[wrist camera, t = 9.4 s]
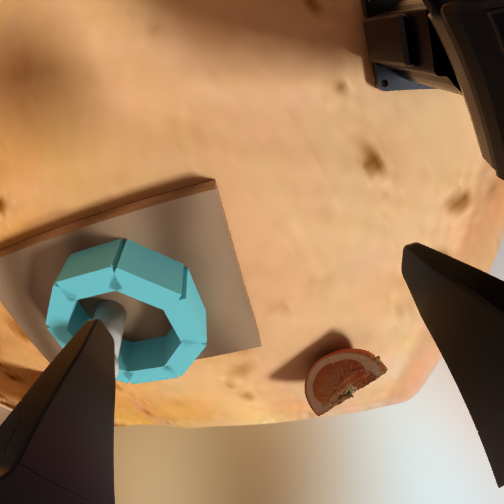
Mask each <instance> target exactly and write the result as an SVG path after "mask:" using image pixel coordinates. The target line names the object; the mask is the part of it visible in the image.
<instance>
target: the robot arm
mask: <svg viewBox="0 0 504 504" xmlns="http://www.w3.org/2000/svg"><path fill="white" fill-rule="evenodd" d="M361 2H362V7H363V12H364V17H365V20H364V22H363V25H364V30H365V36H366V42H367V48H368V55H369V59H370V61H372V65H373V73H374V81H375V85H376V87H377V88H378V89H379V90H383V91H393V90H411V89H442V90H446V91H449V92H453V93H456V94H460V95H463V96H464V99H465V102H466V105H467V108H468V111H469V114H470V117H471V120H472V123H473V127H474V130H475V133H476V137H477V140H478V144H479V147H480V150H481V153H482V156H483V158H484V159H485V160H486V161H487V162H488V163H489V164H490V165H491V167H492V168H494V169H495V170H496V175H497V176H498V177H499V178H501V179H502V180H504V0H372V2H369V1H368V0H361ZM382 80H385V85H384V86H382V84H381V81H382ZM401 269H402V274H403V277H404V279H405V281H406V284H407V286H408V288H409V290H410V292H411V295H412V297H413V299H414V301H415V304H416V306H417V308H418V311H419V313H420V315H421V317H422V319H423V321H424V323H425V324H426V326H427V328H428V330H429V332H430V334H431V335H432V337H433V339H434V341H435V343H436V345H437V347H438V348H439V350H440V352H441V354H442V356H443V358H444V360H445V362H446V364H447V366H448V368H449V370H450V372H451V374H452V376H453V378H454V380H455V382H456V384H457V386H458V388H459V390H460V393H461V395H462V397H463V399H464V401H465V404H466V406H467V408H468V410H469V413H470V415H471V417H472V419H473V422H474V424H475V426H476V429H477V431H478V434H479V436H480V439H481V442H482V444H483V446H484V449H485V452H486V454H487V457H488V460H489V462H490V465H491V468H492V471H493V473H494V476H495V479H496V482H497V485H498V487H499V488H500V487H502V486H504V281H502V280H500V279H498V278H496V277H494V276H491V275H490V274H487V273H485V272H483V271H481V270H479V269H477V268H475V267H472V266H470V265H468V264H466V263H464V262H461V261H459V260H457V259H455V258H452V257H450V256H448V255H446V254H443V253H441V252H439V251H436V250H434V249H432V248H429V247H427V246H425V245H422V244H420V243H417V242H415V243H411V244H408V245H406V246H404V248H403V257H402V267H401ZM115 388H116V386H115V343H114V339H113V337H112V335H111V333H110V332H109V331H108V329H107V328H106V326H105V325H104V323H103V322H102V321H101V320H100V319H92V320H88V321H87V322H86V323H85V324H84V325H83V326H82V327H81V328H80V329H79V330H78V332H77V333H76V334H75V335H74V336H73V337H72V338H71V340H70V341H69V342H68V343H67V344H66V345H65V347H64V348H63V349H62V350H61V351H60V352H59V354H58V355H57V356H56V357H55V358H54V359H53V361H52V362H51V363H50V364H49V365H48V367H47V368H46V369H45V370H44V372H43V373H42V374H41V375H40V376H39V378H38V379H37V380H36V381H35V383H34V384H33V385H32V386H31V388H30V389H29V390H28V391H27V393H26V394H25V395H24V396H23V398H22V399H21V401H19V403H18V404H17V405H16V407H15V408H14V409H13V411H12V412H11V413H10V414H9V416H8V417H7V418H6V420H5V421H4V422H3V423H2V424H1V426H0V504H115V496H114V459H113V458H114V457H113V454H114V452H113V451H114V450H113V449H114V409H115Z"/></svg>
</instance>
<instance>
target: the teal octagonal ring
mask: <svg viewBox="0 0 504 504" xmlns="http://www.w3.org/2000/svg"><path fill="white" fill-rule="evenodd" d="M112 291H118V292H120V293H123V294H125V295H128V296H130V297H132V298H135V299H137V300H140V301H142V302H145V303H147V304H150V305H152V306H155V307H157V308H160V309H162V310H164V312H165V314H166V316H167V317H168V319H169V321H170V323H171V325H172V326H173V327H172V328H171V330H170V331H169V333H168V334H167V336H163V337H158V338H153V339H147V340H142V341H136V342H130V341H128V340H125V339H122V340H121V345H120V350H119V355H118V363H119V372H118V375H117V377H116V380H119V381H122V382H125V383H128V382H129V381H130V382H131V383H132V384H136V383H144V382H151V381H158V380H165V379H171V378H178V377H179V375H181V376H182V375H183V374H184V373H185V371H186V370H187V369H188V368H189V367H190V365H191V364H192V363H193V362H194V360H195V359H196V358H197V357H198V355H199V354H200V353H201V352H202V351H203V349H204V348H205V347H206V342H207V330H206V310H205V307H204V305H203V303H202V300H201V298H200V296H199V293H198V291H197V289H196V286H195V284H194V281H193V279H192V277H191V274H190V272H189V269H188V268H184V264H183V263H180V262H178V261H176V260H174V259H171V258H169V257H167V256H164V255H162V254H160V253H158V252H155V251H153V250H151V249H149V248H146V247H144V246H142V245H140V244H138V243H135V242H133V241H131V240H129V239H127V241H126V243H125V244H124V242H123V240H122V238H121V239H118V240H115V241H111V242H108V243H105V244H101V245H98V246H95V247H92V248H88V249H85V250H82V251H79V252H76V253H72V254H71V255H70V257H68V258H67V260H66V262H65V264H64V266H63V267H62V269H61V271H60V273H59V275H58V277H57V279H56V281H55V283H54V284H53V288H52V293H51V298H50V303H49V308H48V313H47V318H46V325H48V326H47V329H48V330H49V332H50V333H51V334H52V335H53V337H54V338H55V339H56V340H57V342H58V343H59V344H60V345H61V347H62V348H64V347H65V345H66V344H67V343H68V342H69V341H70V340H71V338H72V337H73V336H74V335H75V334H76V333H77V332H78V330H79V329H80V328H81V327H82V326H83V325H84V324H85V323H86V322H87V321H88V320H91V319H90V318H89V316H88V315H87V313H86V312H85V310H84V309H83V307H82V306H81V304H80V303H79V301H78V300H79V299H83V298H87V297H91V296H95V295H99V294H104V293H108V292H112Z"/></svg>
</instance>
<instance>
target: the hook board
mask: <svg viewBox="0 0 504 504" xmlns="http://www.w3.org/2000/svg"><path fill="white" fill-rule="evenodd" d="M121 238H122V240H123V242H124V244H125V243H126V241H127V239H129V240H131V241H133V242H135V243H138V244H140V245H142V246H144V247H146V248H149V249H151V250H153V251H155V252H158V253H160V254H162V255H164V256H167V257H169V258H171V259H174V260H176V261H178V262H180V263H183V264H184V268H188V269H189V272H190V274H191V277H192V279H193V281H194V284H195V286H196V289H197V291H198V293H199V296H200V298H201V300H202V303H203V305H204V307H205V310H206V330H207V342H206V347H205V348H204V349H203V351H202V352H201V353H200V354H199V355H198V357H197V358H196V359H202V358H207V357H212V356H217V355H222V354H227V353H232V352H237V351H241V350H246V349H251V348H255V347H259V346H261V341H260V336H259V331H258V328H257V325H256V321H255V318H254V314H253V311H252V308H251V304H250V301H249V297H248V294H247V290H246V287H245V283H244V280H243V276H242V273H241V270H240V266H239V263H238V259H237V256H236V252H235V248H234V245H233V241H232V238H231V234H230V231H229V227H228V224H227V220H226V217H225V213H224V209H223V206H222V202H221V199H220V195H219V191H218V188H217V184H216V181H215V180H211V181H207V182H204V183H200V184H196V185H192V186H189V187H185V188H181V189H178V190H174V191H171V192H167V193H164V194H160V195H157V196H153V197H150V198H147V199H143V200H140V201H137V202H133V203H130V204H127V205H124V206H121V207H117V208H114V209H111V210H108V211H105V212H102V213H99V214H96V215H93V216H90V217H87V218H84V219H81V220H78V221H75V222H73V223H70V224H67V225H64V226H61V227H59V228H56V229H53V230H50V231H48V232H45V233H42V234H40V235H37V236H34V237H32V238H29V239H27V240H24V241H22V242H19V243H17V244H14V245H12V246H9V247H7V248H4V249H2V250H0V301H1V302H2V304H3V305H4V307H5V308H6V309H7V311H8V312H9V313H10V315H11V316H12V317H13V319H14V320H15V321H16V323H17V324H18V325H19V327H20V328H21V329H22V330H23V332H24V333H25V334H26V335H27V337H28V338H29V339H30V340H31V342H32V343H33V344H34V345H35V346H36V348H37V349H38V350H39V351H40V352H41V353H42V355H43V356H44V357H45V358H46V359H47V360H48V361H49V362H50V363H51V362H52V361H53V359H54V358H55V357H56V356H57V355H58V354H59V352H60V351H61V350H62V349H63V348H62V347H61V345H60V344H59V343H58V342H57V340H56V339H55V338H54V337H53V335H52V334H51V333H50V332H49V330H48V329H47V326H48V325H46V318H47V313H48V308H49V303H50V298H51V293H52V288H53V284H54V283H55V281H56V279H57V277H58V275H59V273H60V271H61V269H62V267H63V266H64V264H65V262H66V260H67V258H68V257H70V255H71V254H72V253H76V252H79V251H82V250H85V249H88V248H92V247H95V246H98V245H101V244H105V243H108V242H111V241H115V240H118V239H121ZM78 301H79V303H80V304H81V306H82V307H83V309H84V310H85V312H86V313H87V315H88V316H89V318H90V319H91V320H92V319H100V320H101V321H102V322H103V323H104V325H105V326H106V328H107V329H108V331H109V332H110V333H111V335H112V337H113V339H114V343H115V379H116V377H117V375H118V372H119V363H118V355H119V350H120V345H121V340H122V339H125V340H128V341H130V342H136V341H142V340H147V339H153V338H158V337H163V336H167V334H168V333H169V331H170V330H171V328H172V327H173V326H172V325H171V323H170V321H169V319H168V317H167V316H166V314H165V312H164V310H162V309H160V308H157V307H155V306H152V305H150V304H147V303H145V302H142V301H140V300H137V299H135V298H132V297H130V296H128V295H125V294H123V293H120V292H118V291H112V292H108V293H104V294H99V295H95V296H91V297H87V298H83V299H79V300H78ZM196 359H195V360H196Z"/></svg>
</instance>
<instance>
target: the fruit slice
mask: <svg viewBox="0 0 504 504" xmlns="http://www.w3.org/2000/svg"><path fill="white" fill-rule="evenodd" d="M386 371H387V367H386V366H385V365H384V364H383V363H382V362H381V360H380V356H377V357H375V356H374V355H373V354H372V353H370V352H369V351H365V350H361V349H342V350H337V351H334V352H331V353H329V354H327V355H325V356H323V357H322V358H320V359H319V360H317V361H316V362H315V364H314V365H313V366H312V367H311V369H310V370H309V373H308V375H307V377H306V381H305V395H306V398H307V401H308V403H309V405H310V407H311V408H312V410H313V411H314V412H315V414H316V415H318V416H320V415H322V414H324V413H325V412H327V411H329V410H330V409H332V408H333V407H334V406H336V405H339V404H341V403H342V402H343V401H345V400H346V399H349V398H350V397H353V395H352V394H353V393H354V392H355V391H356V390H359V389H360V388H363V387H365V386H366V385H368V384H369V383H370V382H372V381H374V380H377V378H379V377H380V376H381V375H383V374H384V373H386Z"/></svg>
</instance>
